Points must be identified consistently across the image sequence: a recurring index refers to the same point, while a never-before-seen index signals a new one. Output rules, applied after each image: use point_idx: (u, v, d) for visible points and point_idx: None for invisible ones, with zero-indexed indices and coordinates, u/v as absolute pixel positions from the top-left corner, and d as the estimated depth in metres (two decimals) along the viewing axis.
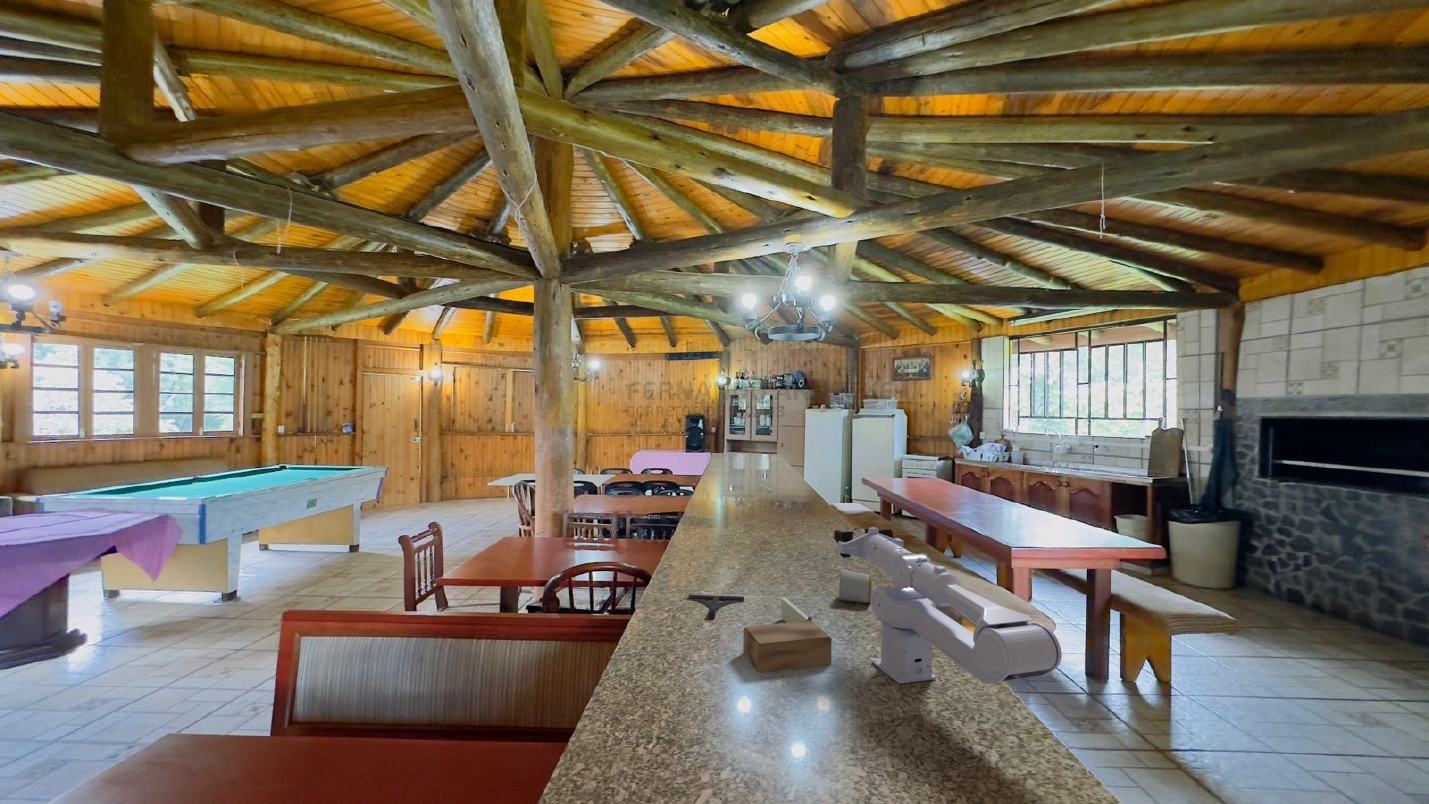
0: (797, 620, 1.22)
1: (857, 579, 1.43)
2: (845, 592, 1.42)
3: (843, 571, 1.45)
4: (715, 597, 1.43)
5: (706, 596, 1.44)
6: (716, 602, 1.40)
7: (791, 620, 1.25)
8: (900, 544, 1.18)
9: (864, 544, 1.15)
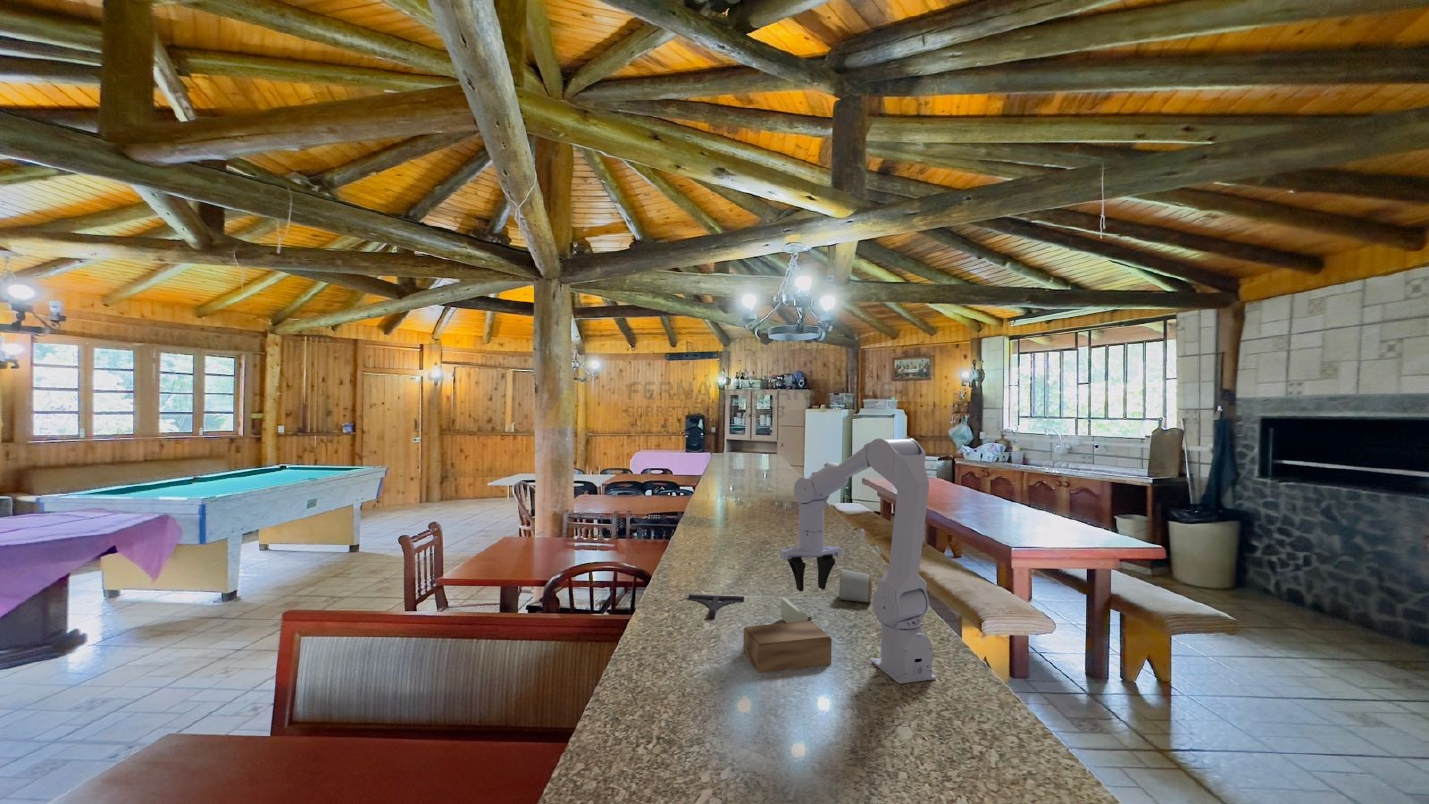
0: (797, 620, 1.22)
1: (857, 579, 1.43)
2: (845, 591, 1.43)
3: (843, 571, 1.46)
4: (715, 597, 1.43)
5: (706, 596, 1.44)
6: (716, 602, 1.40)
7: (791, 620, 1.25)
8: None
9: None
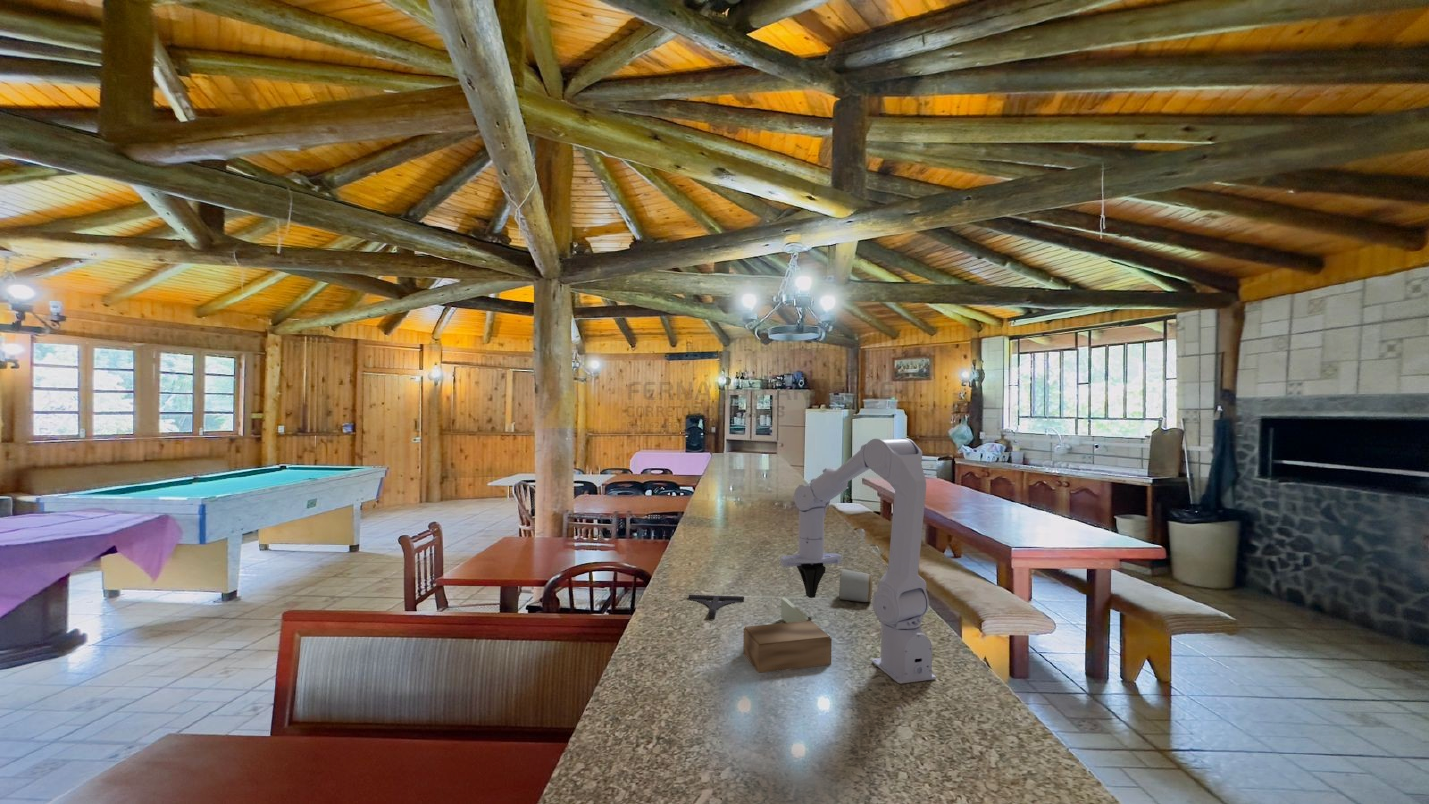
0: (797, 620, 1.22)
1: (857, 578, 1.43)
2: (845, 591, 1.43)
3: (843, 570, 1.46)
4: (715, 597, 1.43)
5: (706, 596, 1.44)
6: (716, 602, 1.40)
7: (791, 620, 1.25)
8: None
9: None
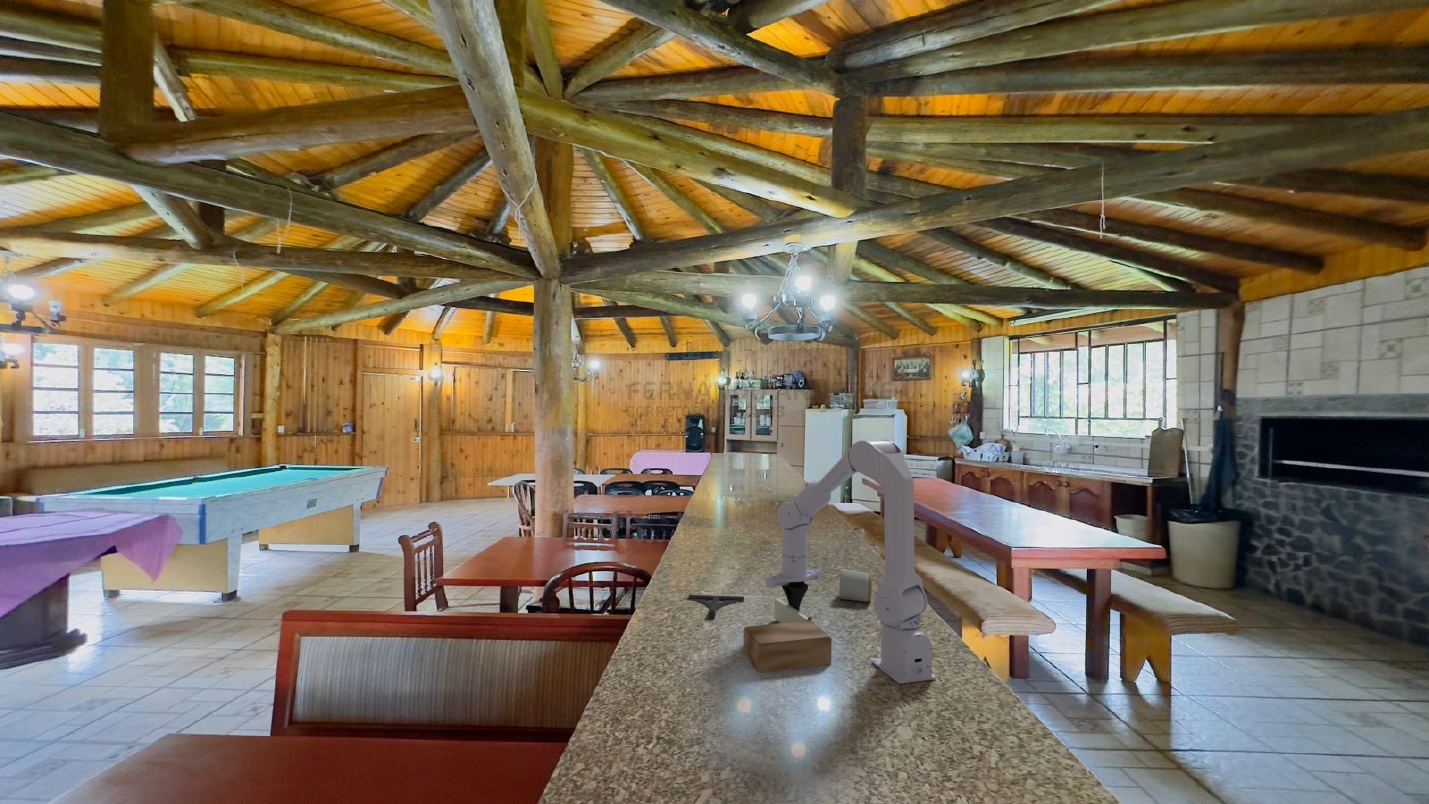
0: (795, 620, 1.22)
1: (857, 578, 1.44)
2: (845, 590, 1.43)
3: (843, 570, 1.46)
4: (715, 597, 1.43)
5: (706, 596, 1.44)
6: (716, 602, 1.40)
7: (787, 621, 1.25)
8: None
9: (782, 570, 1.26)
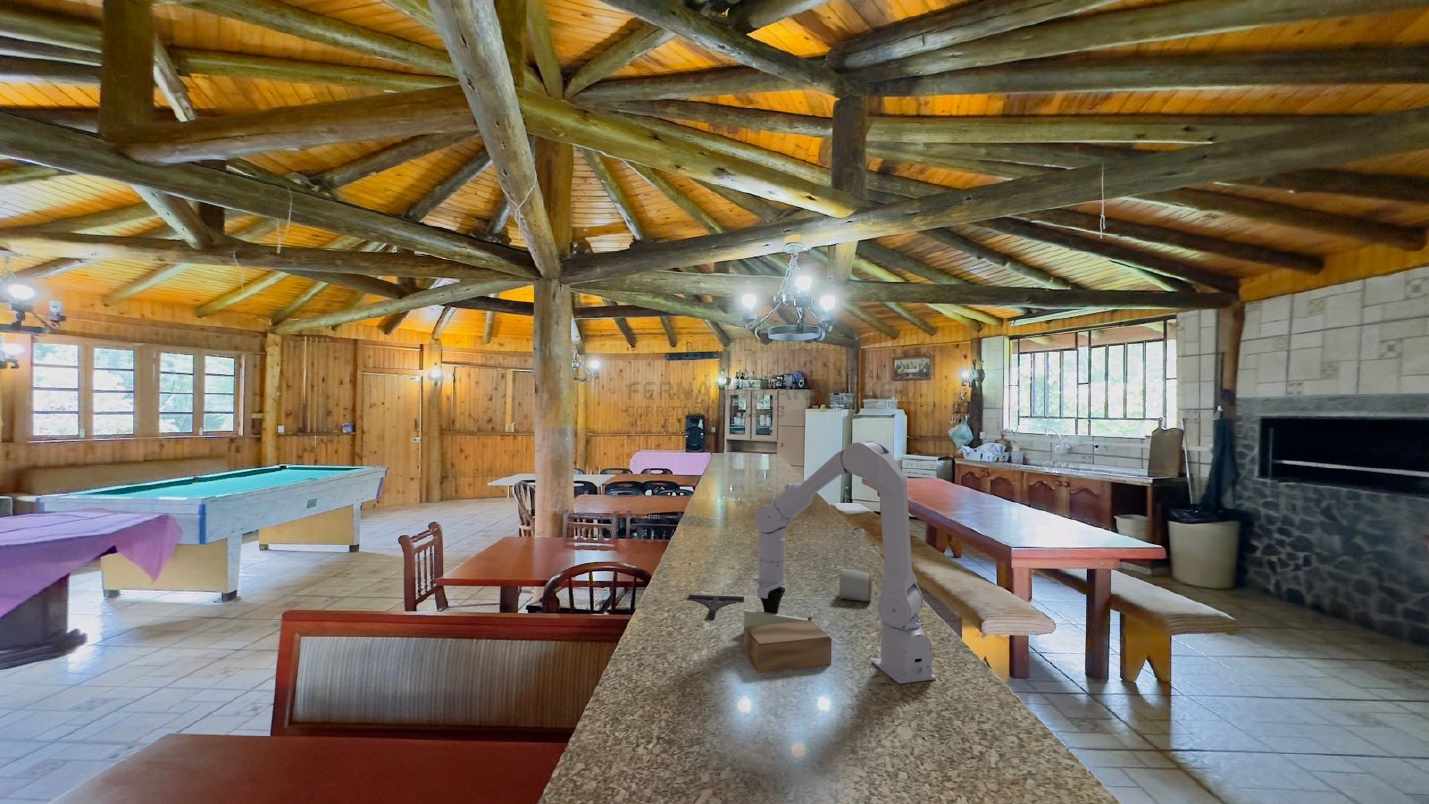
0: None
1: (857, 577, 1.44)
2: (845, 590, 1.44)
3: (843, 570, 1.47)
4: (715, 597, 1.43)
5: (706, 596, 1.44)
6: (716, 602, 1.40)
7: None
8: None
9: (763, 577, 1.20)
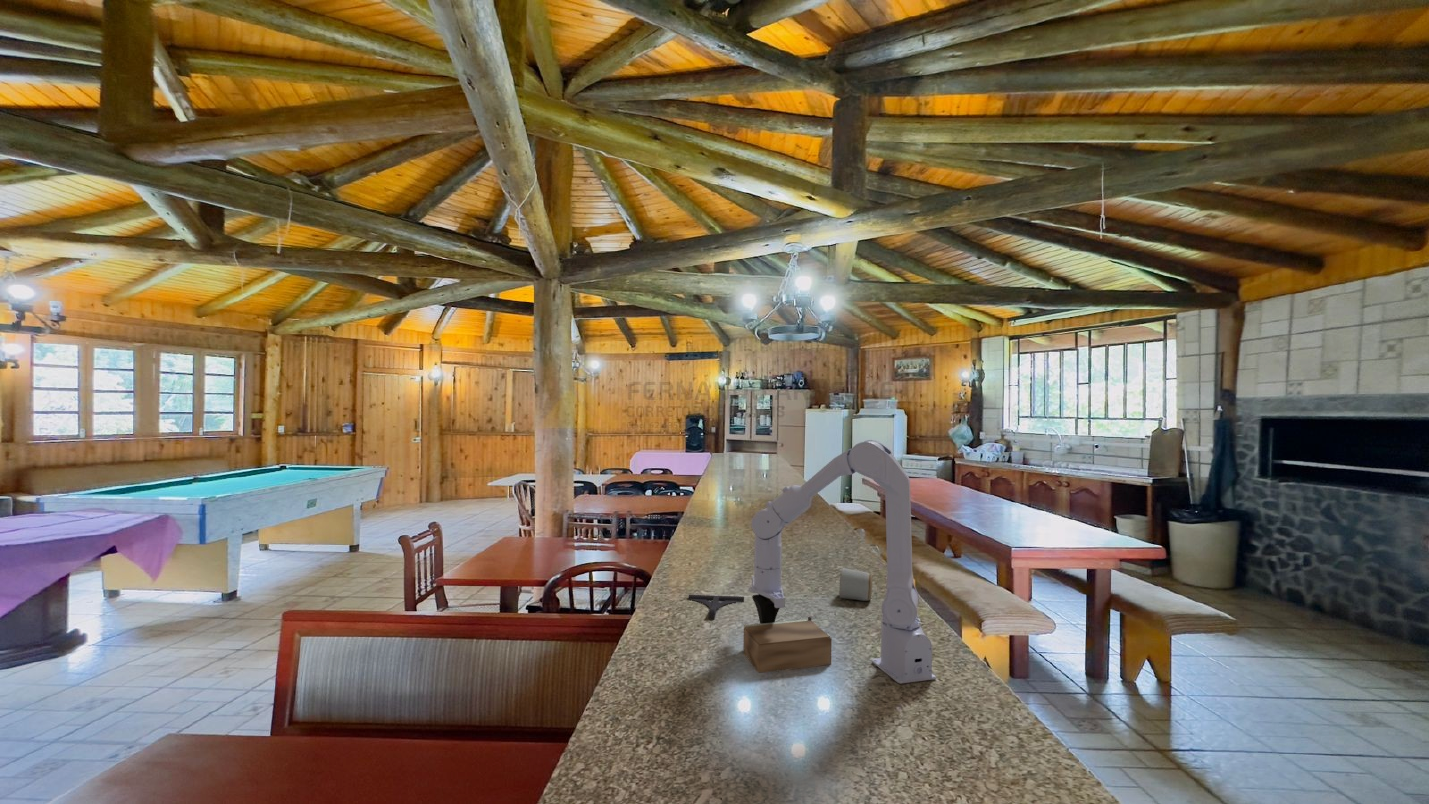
0: None
1: (857, 577, 1.44)
2: (845, 590, 1.44)
3: (843, 569, 1.47)
4: (715, 597, 1.43)
5: (706, 596, 1.44)
6: (716, 602, 1.40)
7: None
8: None
9: (767, 586, 1.14)
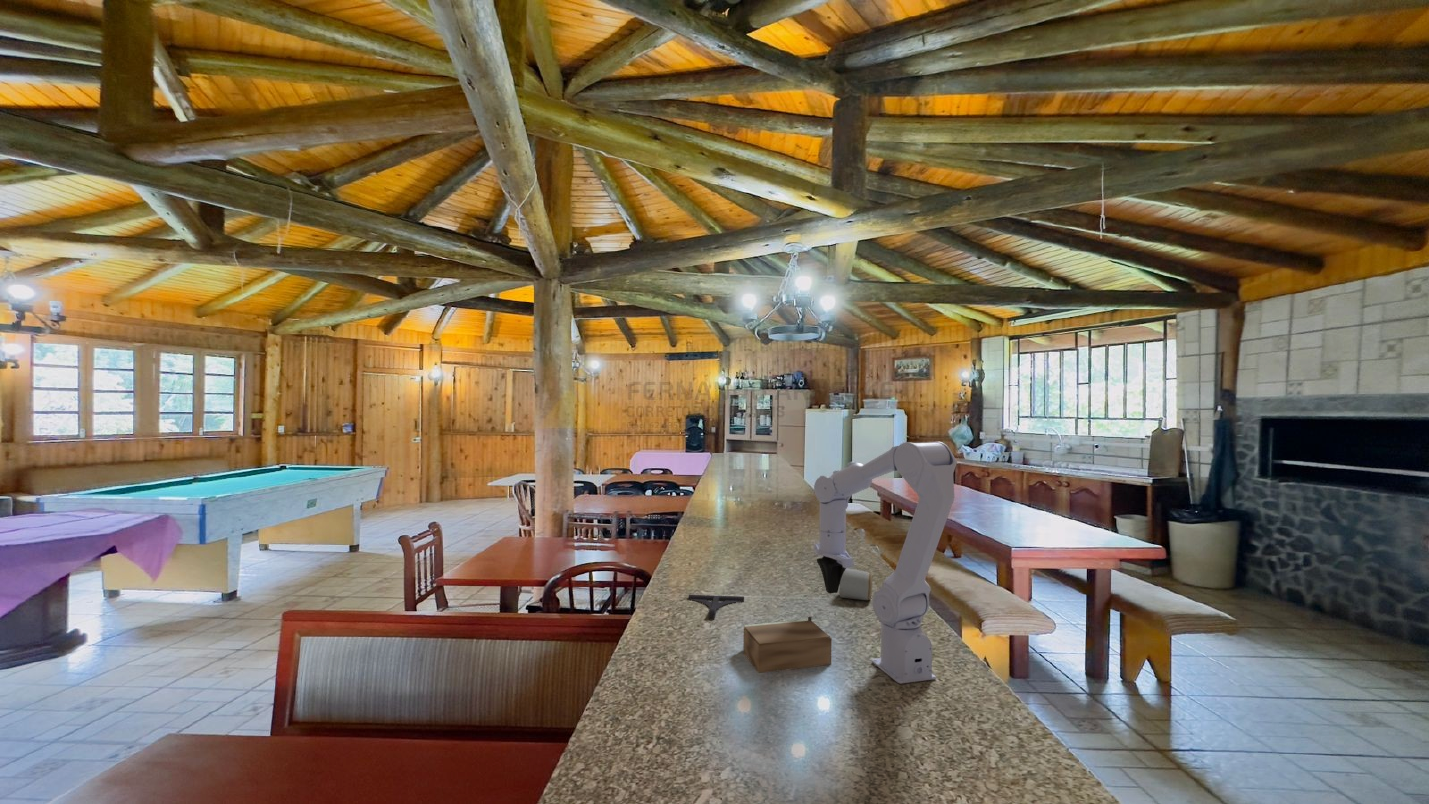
0: None
1: (857, 577, 1.45)
2: (845, 589, 1.44)
3: None
4: (715, 597, 1.43)
5: (706, 596, 1.44)
6: (716, 602, 1.40)
7: None
8: (818, 544, 1.29)
9: (834, 549, 1.20)
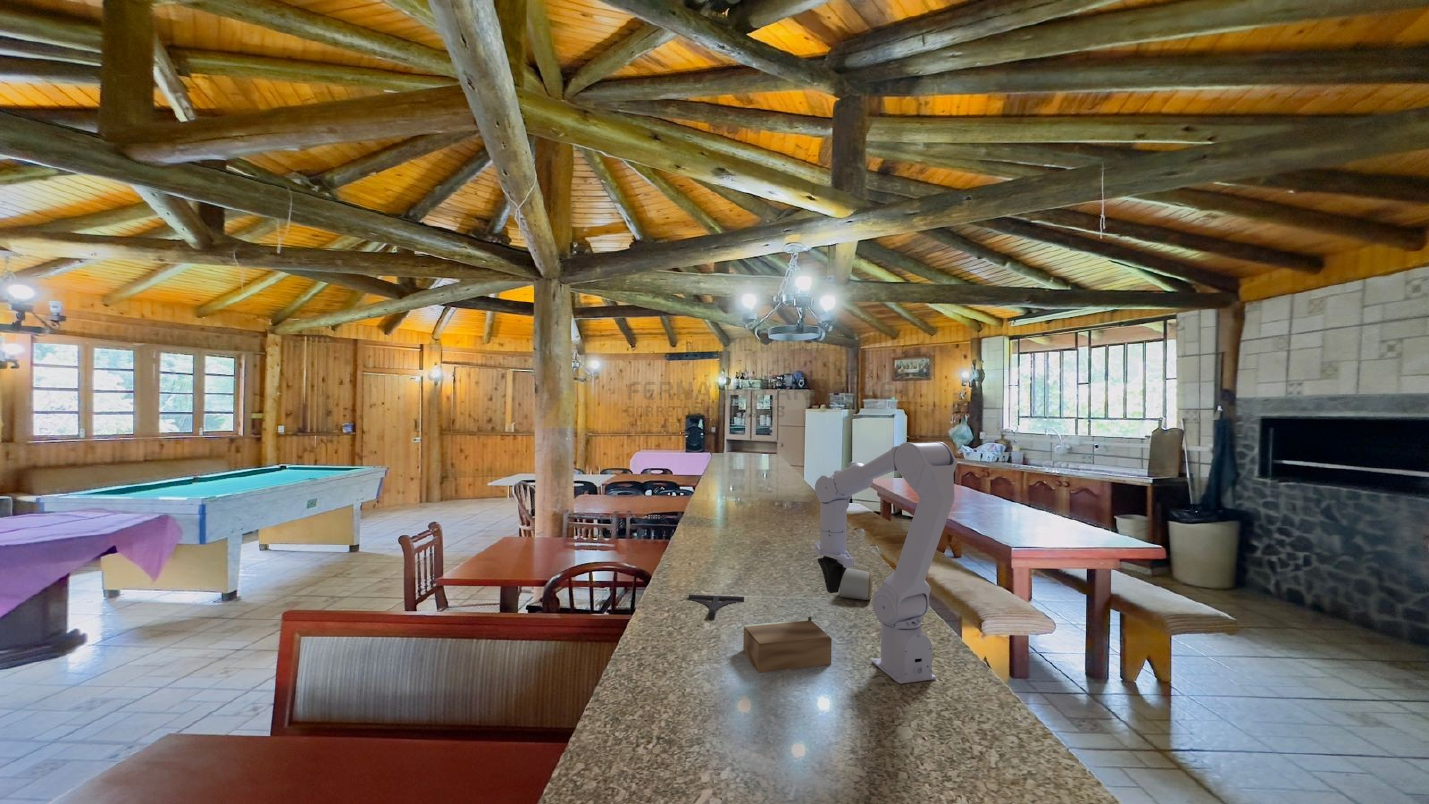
0: None
1: (857, 576, 1.45)
2: (845, 589, 1.45)
3: None
4: (715, 597, 1.43)
5: (706, 596, 1.44)
6: (716, 602, 1.40)
7: None
8: (818, 543, 1.29)
9: (834, 549, 1.20)
